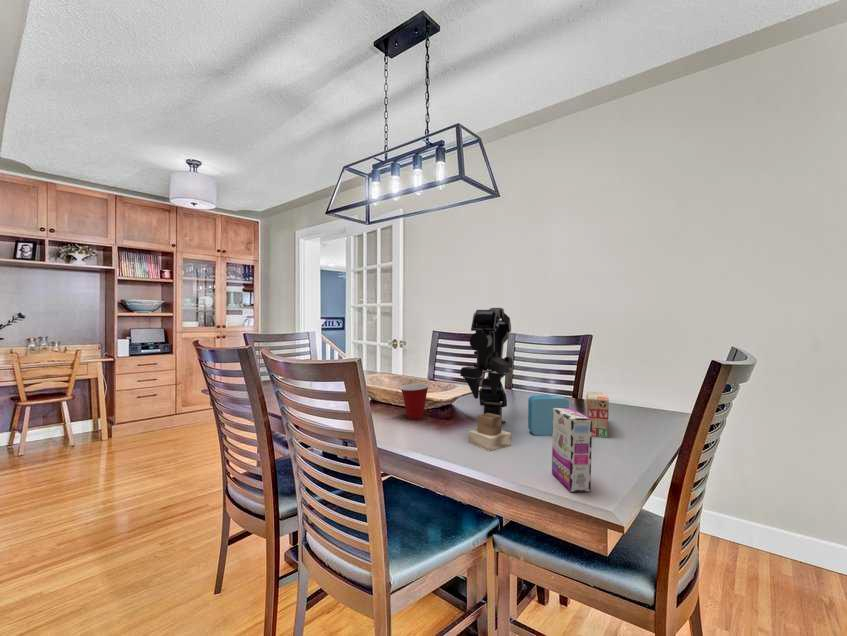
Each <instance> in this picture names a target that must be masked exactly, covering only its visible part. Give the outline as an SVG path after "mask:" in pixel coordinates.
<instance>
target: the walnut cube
mask: <svg viewBox="0 0 847 636" xmlns="http://www.w3.org/2000/svg"><path fill="white" fill-rule="evenodd" d="M477 429H478V433H482V434H486V435H489V436H493V435H496V434H498V433H501V430H502V424H501V416H500V415H495V414H491V413H485V414H484V413H482V414H479V415H477Z"/></svg>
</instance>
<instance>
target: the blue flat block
mask: <svg viewBox="0 0 847 636" xmlns="http://www.w3.org/2000/svg"><path fill="white" fill-rule="evenodd" d="M527 401H528V404H527V407H528V409H527V415H528V416H527V419H528V421H527V423H528V424H527V428H528V430H529V431H530V433H532V435H534V436H553V408H570V401H569V399H567V398H566V397H564V396H562V395H559V394H557V395H553V394H552V395H539V394H538V395H530V396H529V397H528V400H527Z"/></svg>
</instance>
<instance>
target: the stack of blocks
mask: <svg viewBox="0 0 847 636" xmlns="http://www.w3.org/2000/svg"><path fill="white" fill-rule="evenodd" d="M585 401H586V416H587V417H589V418H591V419H592V438H593V437H594V438H603V439H608V438H609V416H610V415H609V410H610V409H609V407H610V406H609V405H610V400H609V397H608V394H607V392H604V391H603V392H602V391H599V392H598V391H586V398H585Z"/></svg>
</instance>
